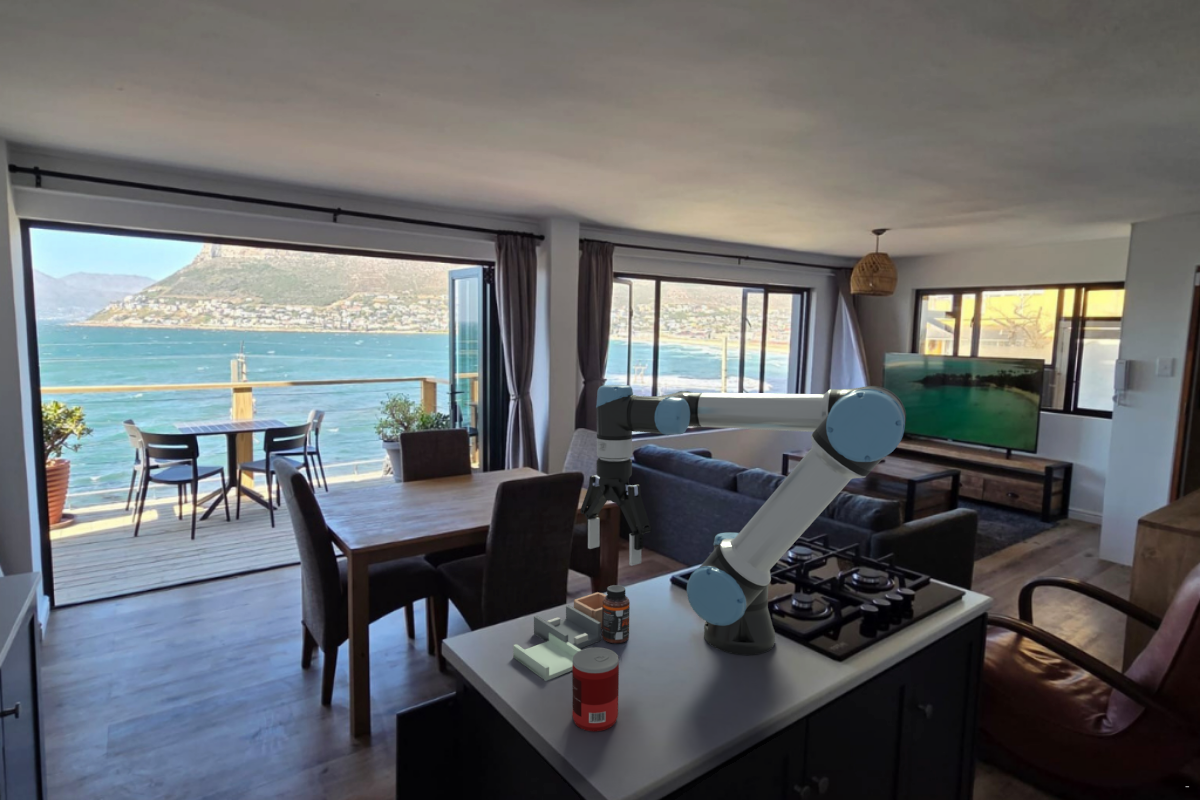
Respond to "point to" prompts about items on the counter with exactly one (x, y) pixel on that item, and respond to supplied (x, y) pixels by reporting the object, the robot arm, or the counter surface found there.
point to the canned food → (595, 688)
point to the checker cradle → (570, 628)
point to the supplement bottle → (615, 615)
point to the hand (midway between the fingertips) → (613, 555)
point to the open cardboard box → (591, 605)
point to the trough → (547, 657)
